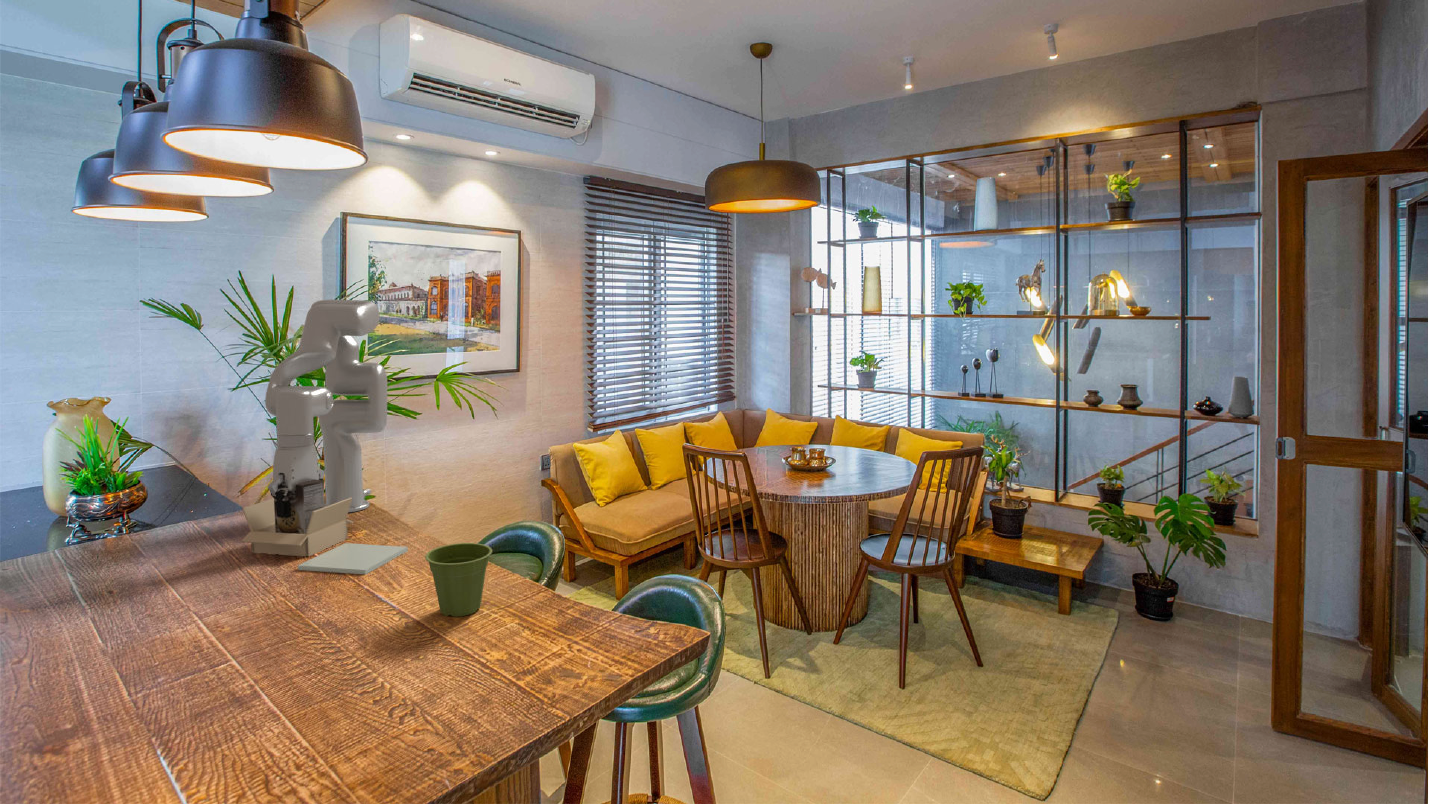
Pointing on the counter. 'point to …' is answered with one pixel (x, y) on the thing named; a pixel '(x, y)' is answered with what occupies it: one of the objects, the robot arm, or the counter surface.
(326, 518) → the carton
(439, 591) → the plant pot
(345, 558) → the tile
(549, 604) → the counter surface
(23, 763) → the counter surface
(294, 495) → the coffee box
